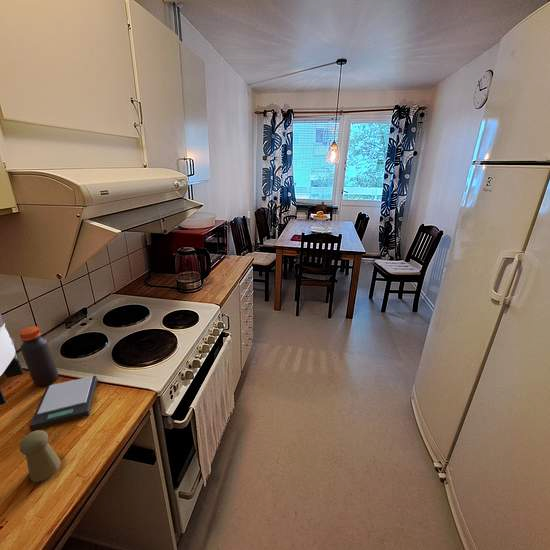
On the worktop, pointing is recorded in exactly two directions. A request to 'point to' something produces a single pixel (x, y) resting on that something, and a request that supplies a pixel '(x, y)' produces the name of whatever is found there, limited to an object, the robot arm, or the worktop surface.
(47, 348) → the bottle
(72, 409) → the scale
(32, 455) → the cork
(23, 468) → the worktop surface
